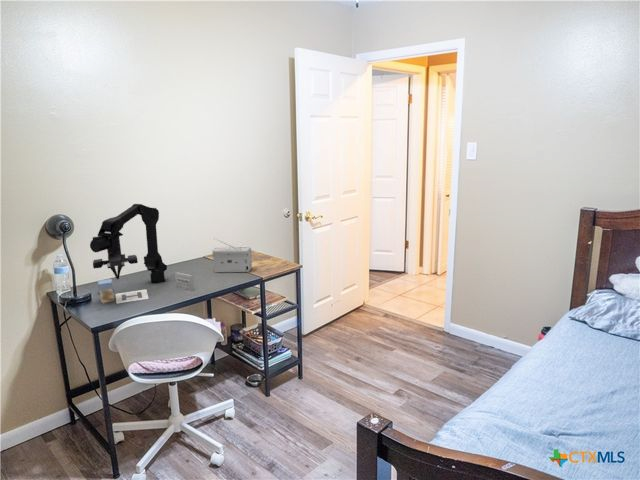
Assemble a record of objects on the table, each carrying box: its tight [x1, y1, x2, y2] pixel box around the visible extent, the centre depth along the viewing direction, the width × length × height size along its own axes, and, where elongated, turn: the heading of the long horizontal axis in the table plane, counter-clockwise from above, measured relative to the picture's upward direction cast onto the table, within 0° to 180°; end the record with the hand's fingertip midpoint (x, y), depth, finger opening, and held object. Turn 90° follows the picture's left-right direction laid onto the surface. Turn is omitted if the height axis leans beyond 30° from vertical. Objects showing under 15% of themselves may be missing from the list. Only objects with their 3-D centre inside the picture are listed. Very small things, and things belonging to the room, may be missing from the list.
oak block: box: [99, 289, 115, 304], centre depth 208 cm, size 5×5×5 cm
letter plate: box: [115, 288, 149, 304], centre depth 214 cm, size 14×14×1 cm
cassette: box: [174, 271, 195, 291], centre depth 224 cm, size 12×2×8 cm, turn 59°
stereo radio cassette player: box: [211, 237, 253, 274], centre depth 249 cm, size 21×8×20 cm, turn 90°
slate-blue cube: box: [97, 278, 114, 295], centre depth 219 cm, size 6×6×6 cm
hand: (117, 279), depth 209 cm, fingers closed
